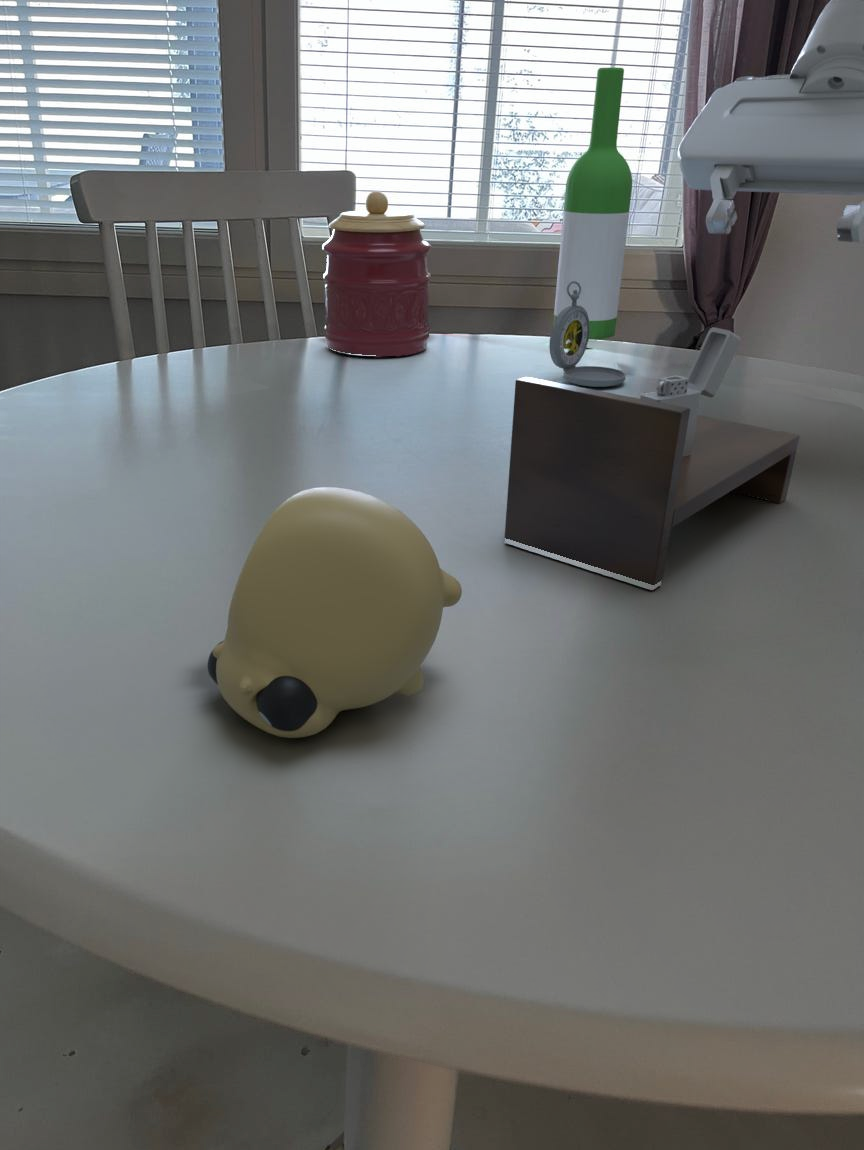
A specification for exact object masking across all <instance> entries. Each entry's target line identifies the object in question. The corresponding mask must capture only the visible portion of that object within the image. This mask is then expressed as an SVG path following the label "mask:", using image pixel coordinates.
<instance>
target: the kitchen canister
mask: <svg viewBox="0 0 864 1150" xmlns="http://www.w3.org/2000/svg"><path fill="white" fill-rule="evenodd" d="M388 207H389V200H388V198H387V195H386V194H385V193H384V192H382V191H380V190H379V191H377V190H375V191H372V192H369V194H368V195H367V197H366V199H365V210H349V211H344V212H341V213H340V214H339V216H338V217H336V218H335V219H334V220H332V221H330V222H329V223H328V228H329V229H331V230H332V235H331V237H329V239H328V240H327V241H325V242H324V243H323V244H322V246H321V247H322V248H321V249H322V250H323V252H324V253H325V254H326V257H327V258H326V262H327V263H326V270H325V272H324V273H323V276H322V278H323V280H324V300H325V304H324V305H325V308H324V309H325V325H324V332H325V333H324V339H325V341H326V347H327V346H328V347H329V348H331V349H333V350H336V351H340V352H345V353H351V354H362V355H376V356H396V357H403V355H404V356H410V355H415V354H418V353H421V352H423V351H425V350H426V349H427V347H428V341H429V338H430V326H429V307H430V306H429V301H430V300H429V299H430V280H431V277H432V276H431V273H430V272H428V263H427V260H428V259H427V255H428V254H429V252H430V251H431V250H432V245H431V243H430V242H428V241H427V240H426V239H424V237H423V235H422V232H421V230H424V228H425V227H426V223H424V222H423V221H421V220H420V219H418V218H417V217H416V216H415V215H414V213H413V212H410V211H402V210H388ZM328 347H327V348H328ZM329 348H328V349H329Z"/></svg>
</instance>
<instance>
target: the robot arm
mask: <svg viewBox="0 0 864 1150" xmlns="http://www.w3.org/2000/svg"><path fill="white" fill-rule="evenodd" d="M692 122H693V123H691V126H690V127H689V128H688V130H687V132H686V133H685V134H684V136H683V138H682V140H681V142H680V143H679V146H678V149H677V160H678V164H679V168H680V171H681V173H682V177H683V179H684V181H685V183H686V185H687V187H688V188H689V189H690V190H693V191H694V190H696V191H711V194H712V204H711V206H710V208H709V209H708V212H707V213H706V215H705V227H706V229H707V232H708V234H716V235H717V234H719V235H729V234H730V233H731V231H732V227H733V226H734V225H735V223H736V221H737V220H738V214H737V211H736V210H735V208H736V206H735V201H734V200H733V199H734V197H735V196H736V194H737V192H748V193H749V192H750V193H751V192H753V193H780V194H781V193H783V194H784V193H785V194H807V195H808V194H811V195H839V196H864V0H829V2H828V3H827V4H826V5H825V6H824V8H823V10H822V11H821V12H820V14H819V16H818V18H817V19H816V22H815V23H814V25H813V27H812V29H811V31H810V33H809V35H808V37H807V39H806V41H805V43H804V45H803V47H802V48H801V51H800V53H799V54H798V57H797V59H796V61H795V62H794V64H793V67H792V69H791V71H790V74H772V75H767V76H757V77H756V76H753V75H745V76H740V77H738V78H736V79H735V81H734V82H731V83H729V84H726V85H724V86H722V87H718V88H717V89H716V90H714V91H713V92H712V94H711V96H710V97H709V99H708V101H707V102H706V104H705V105H704V107H703V108H702V109H701V111H700V113H699V114H698V115H697V116H696V118H695V119H694V121H692ZM836 234H837V235H838V236H837V241H838V242H842V243H843V242H846V243H862V242H863V240H864V200H862V201H861V202H860V203H858V204H846V205H845V207H844V209H843V211H842V216H841V217H840V218H839V219H838V222H837V224H836Z"/></svg>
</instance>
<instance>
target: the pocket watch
mask: <svg viewBox="0 0 864 1150" xmlns="http://www.w3.org/2000/svg"><path fill="white" fill-rule="evenodd" d="M573 283H575V284H577V285H578V287H579V292H578V291H577V290H574V291H573V292H574V293H573V294H572V295H571V294H570V292H569V287H570V285H571V284H573ZM577 292H578V293H577ZM567 293H568V295H569V296H570V297H571V300H572V306H568V307H566V308H565V309H563V310H562V311H561V312H560V314H559V315H558V317H557V318H556V320H555V322H554V321H553V323H554V325H553V324H552V327H551V330H550V331H551V332H550V336H549V355H550V359H551V361H552V363H553V364H554V365H555V366H556V367H558V368H559V369H562V371H563V379H564V380H565V381H566V382H569V383H571V384H573V385H576V386H579V387H581V386H583V387H589V388H590V387H591V388H607V387H615V386H618V385H620V384H623V383H624V382H625V381H626V378H627V373H625V372H624V371H622V370H620V369H617V368H613V367H607V366H606V367H605V366H598V365H597V366H595V365H582V366H577V365H578V363H579V362H580V361H581V359H582V358H583V356H584V354H585V352H586V350H587V349H586V348H588V344H589V340H590V339H589V334H590V325H589V318H588V314H587V312H586V311H585V309H584V308H583V307H581V306H578V305H577V299H578V298H579V295H580V293H581V286H580V284H579V283H578V282H575V281H572V282H570V283H569V284H568V286H567ZM574 328H575V331H574ZM570 336H571V337H570ZM563 344H565V346H564V345H563ZM569 345H570V346H569ZM565 350H567V351H565Z"/></svg>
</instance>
